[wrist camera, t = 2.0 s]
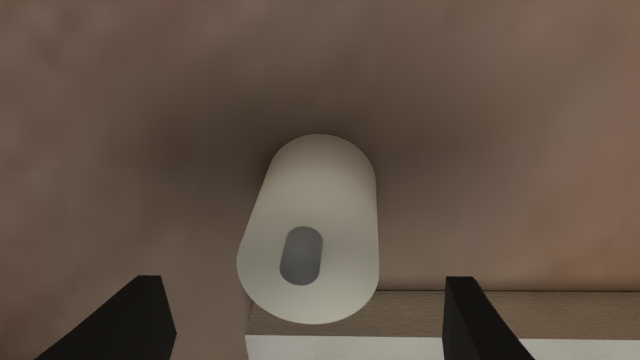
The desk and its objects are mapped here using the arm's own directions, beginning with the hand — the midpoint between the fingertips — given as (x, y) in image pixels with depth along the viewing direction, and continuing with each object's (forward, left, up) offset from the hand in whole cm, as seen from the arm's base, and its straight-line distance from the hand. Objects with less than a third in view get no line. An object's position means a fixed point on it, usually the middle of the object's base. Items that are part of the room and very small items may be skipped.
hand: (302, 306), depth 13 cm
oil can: (0, 0, -7) cm, 7 cm away
